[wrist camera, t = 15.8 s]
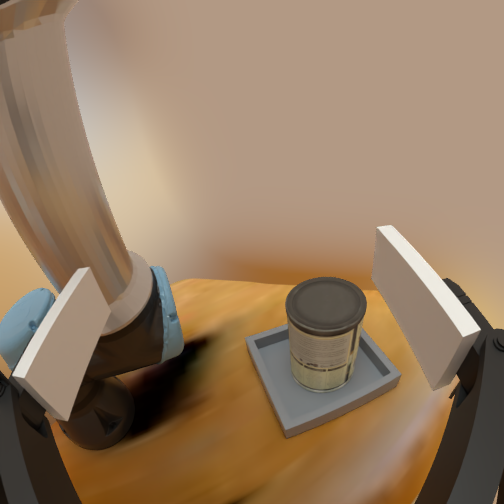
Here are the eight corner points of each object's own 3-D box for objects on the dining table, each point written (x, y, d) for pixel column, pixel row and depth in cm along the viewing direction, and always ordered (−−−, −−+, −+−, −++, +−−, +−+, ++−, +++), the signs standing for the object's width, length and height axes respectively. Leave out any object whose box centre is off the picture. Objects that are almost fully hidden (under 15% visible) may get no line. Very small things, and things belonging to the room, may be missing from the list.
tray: (286, 438, 33) (285, 429, 31) (247, 350, 48) (244, 337, 47) (396, 386, 36) (401, 374, 35) (340, 316, 52) (341, 303, 50)
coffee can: (285, 348, 46) (279, 282, 39) (343, 337, 46) (350, 271, 39) (295, 399, 37) (293, 338, 30) (362, 385, 37) (379, 320, 30)
